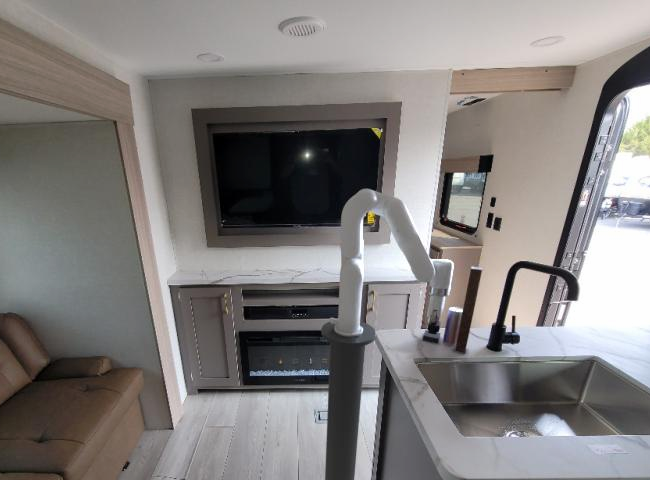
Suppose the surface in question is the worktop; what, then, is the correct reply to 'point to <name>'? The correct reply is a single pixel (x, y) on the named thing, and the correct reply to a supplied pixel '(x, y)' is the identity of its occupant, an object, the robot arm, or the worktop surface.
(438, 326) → the small pad
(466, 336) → the walnut post
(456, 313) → the beverage can
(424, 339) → the wide pad
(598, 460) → the worktop surface
